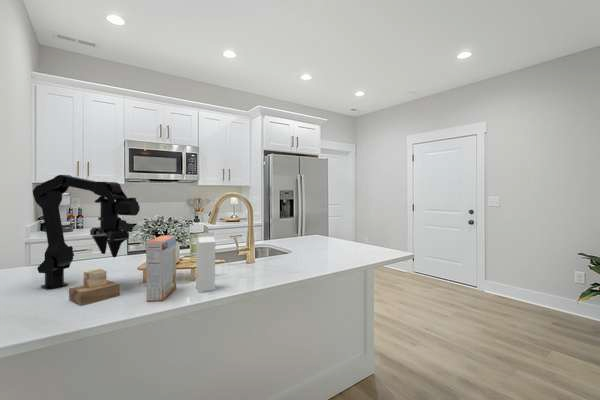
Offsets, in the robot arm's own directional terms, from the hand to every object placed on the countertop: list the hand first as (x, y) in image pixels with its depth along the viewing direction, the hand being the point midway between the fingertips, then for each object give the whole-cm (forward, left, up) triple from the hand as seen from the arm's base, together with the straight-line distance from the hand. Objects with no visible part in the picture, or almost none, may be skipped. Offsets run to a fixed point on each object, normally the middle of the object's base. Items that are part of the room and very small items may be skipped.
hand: (108, 255), depth 113 cm
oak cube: (+6, -7, -9) cm, 13 cm away
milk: (+30, +21, -13) cm, 39 cm away
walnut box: (+6, -7, -13) cm, 16 cm away
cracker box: (+22, +8, -13) cm, 27 cm away
